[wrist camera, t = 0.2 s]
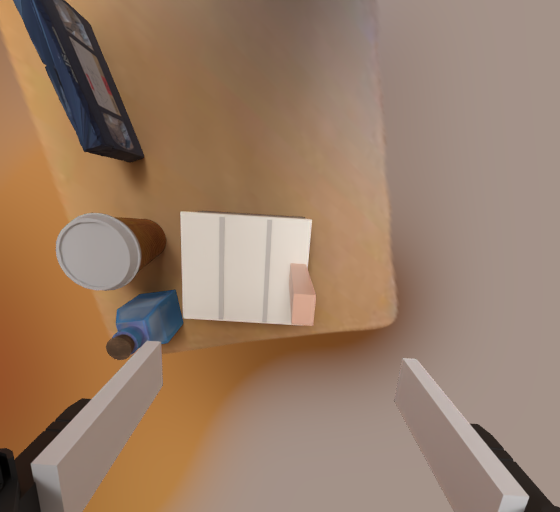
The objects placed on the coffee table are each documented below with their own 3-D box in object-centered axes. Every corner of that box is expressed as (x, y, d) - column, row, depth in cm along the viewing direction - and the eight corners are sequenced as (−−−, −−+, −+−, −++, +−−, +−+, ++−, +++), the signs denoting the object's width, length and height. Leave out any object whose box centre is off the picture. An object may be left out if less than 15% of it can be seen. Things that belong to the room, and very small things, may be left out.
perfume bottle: (149, 327, 45) (102, 372, 34) (139, 294, 44) (87, 329, 32) (183, 323, 45) (148, 367, 33) (175, 289, 44) (136, 323, 32)
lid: (186, 210, 35) (130, 219, 22) (310, 218, 35) (325, 231, 22) (188, 311, 38) (140, 369, 25) (301, 318, 38) (310, 380, 25)
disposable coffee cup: (134, 275, 43) (79, 305, 31) (105, 222, 41) (35, 232, 29) (186, 255, 42) (148, 277, 30) (158, 199, 40) (107, 200, 29)
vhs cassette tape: (146, 158, 39) (101, 145, 29) (128, 164, 39) (77, 153, 30) (93, 21, 35) (21, -46, 25) (73, 28, 35) (-6, -36, 26)
